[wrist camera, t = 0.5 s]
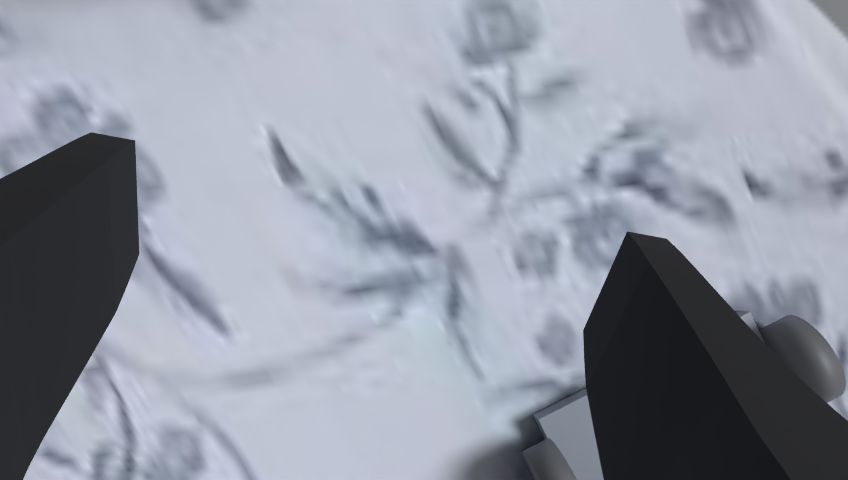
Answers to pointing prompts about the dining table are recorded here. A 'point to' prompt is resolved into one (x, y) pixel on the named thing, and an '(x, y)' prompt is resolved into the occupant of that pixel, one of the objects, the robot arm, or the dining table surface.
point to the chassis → (572, 424)
